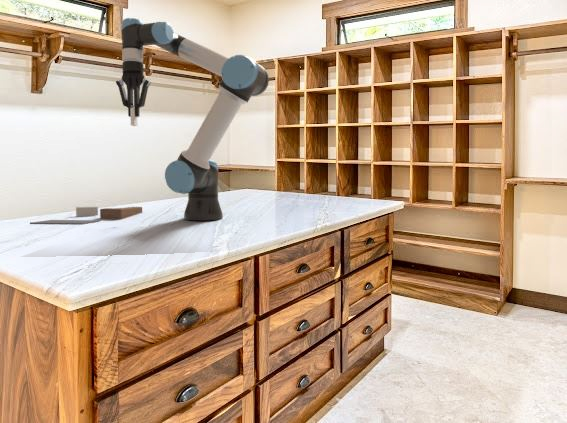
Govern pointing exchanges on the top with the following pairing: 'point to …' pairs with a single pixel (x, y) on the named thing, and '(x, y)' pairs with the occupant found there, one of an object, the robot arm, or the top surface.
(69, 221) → the charcoal mat
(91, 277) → the top surface
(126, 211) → the wooden block
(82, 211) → the smooth beige box
